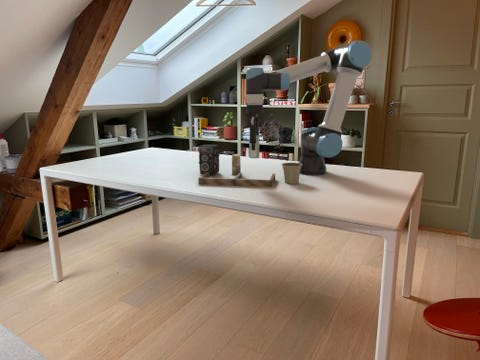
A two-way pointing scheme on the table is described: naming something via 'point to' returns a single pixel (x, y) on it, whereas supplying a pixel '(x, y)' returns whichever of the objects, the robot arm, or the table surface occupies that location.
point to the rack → (235, 181)
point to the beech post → (236, 164)
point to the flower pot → (291, 172)
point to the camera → (209, 159)
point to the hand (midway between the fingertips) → (254, 156)
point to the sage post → (257, 147)
